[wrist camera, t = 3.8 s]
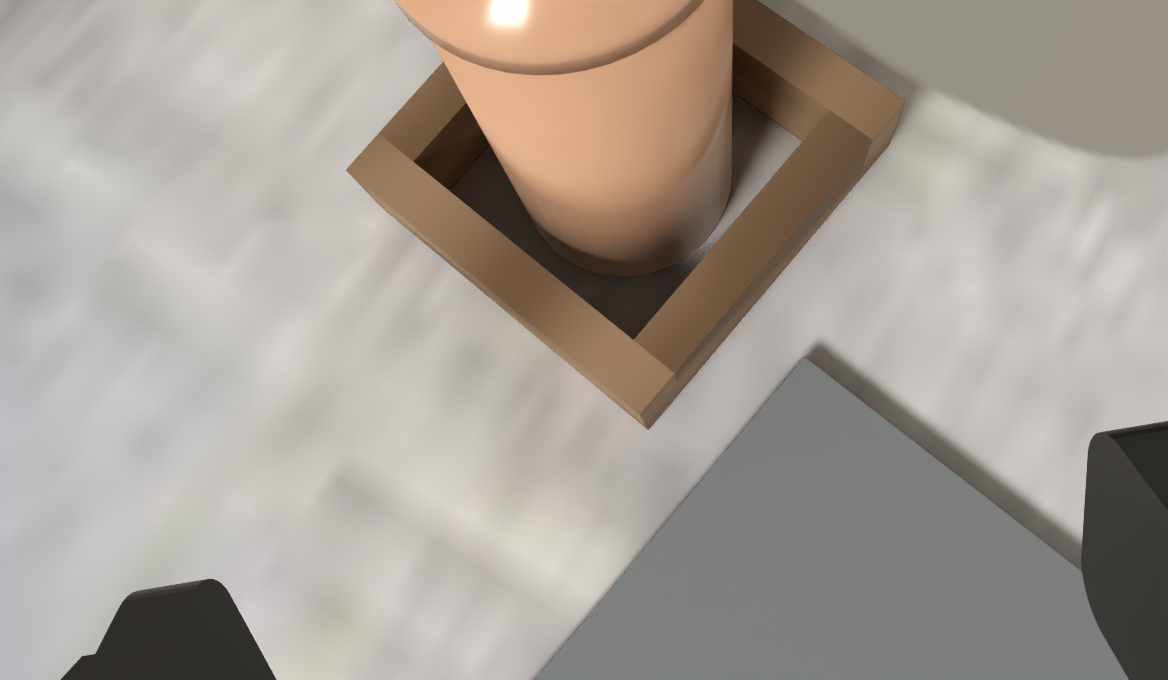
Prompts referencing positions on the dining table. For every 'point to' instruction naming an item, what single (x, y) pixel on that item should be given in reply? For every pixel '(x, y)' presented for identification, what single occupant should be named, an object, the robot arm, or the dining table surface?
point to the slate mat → (838, 568)
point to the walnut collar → (728, 271)
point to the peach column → (600, 116)
